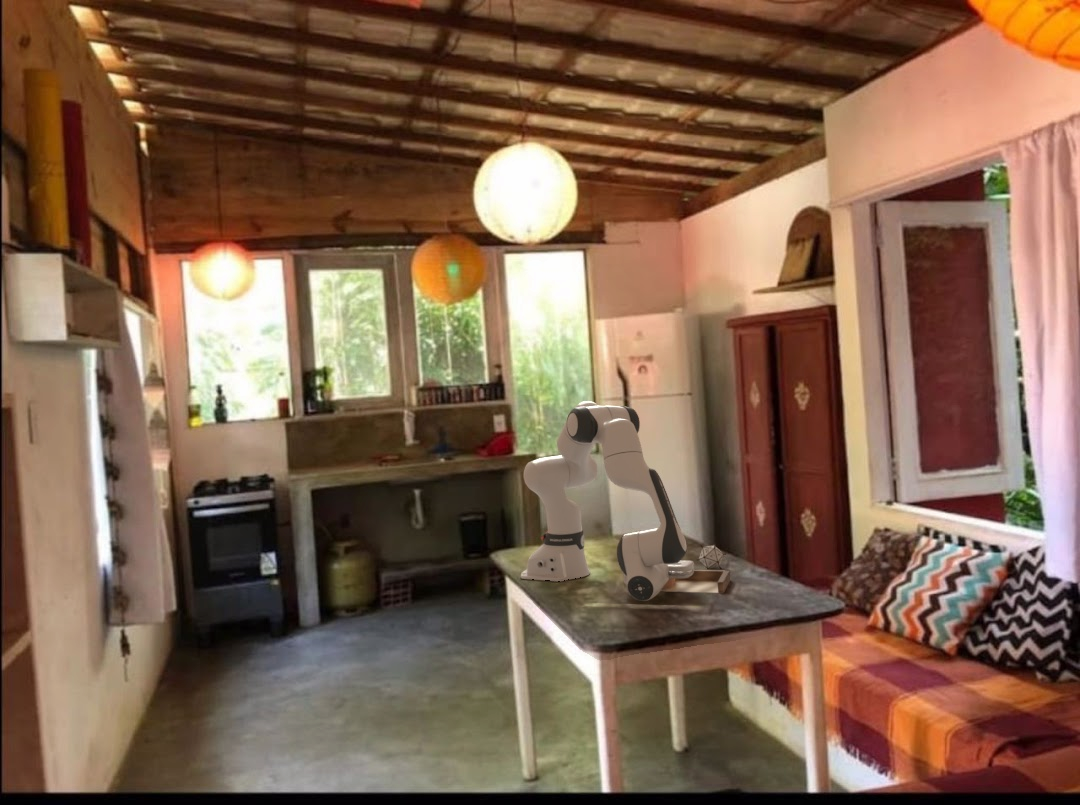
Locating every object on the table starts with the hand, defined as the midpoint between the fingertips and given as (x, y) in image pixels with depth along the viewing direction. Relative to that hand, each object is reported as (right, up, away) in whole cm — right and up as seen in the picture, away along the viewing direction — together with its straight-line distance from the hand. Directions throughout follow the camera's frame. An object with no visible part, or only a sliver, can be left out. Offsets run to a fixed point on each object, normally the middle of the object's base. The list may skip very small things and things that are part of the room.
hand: (663, 562), depth 250 cm
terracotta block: (+1, -7, 0) cm, 7 cm away
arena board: (+7, -7, -2) cm, 11 cm away
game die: (+18, -6, +19) cm, 27 cm away
